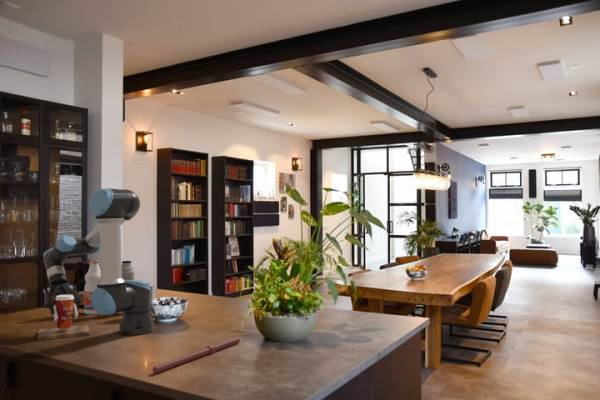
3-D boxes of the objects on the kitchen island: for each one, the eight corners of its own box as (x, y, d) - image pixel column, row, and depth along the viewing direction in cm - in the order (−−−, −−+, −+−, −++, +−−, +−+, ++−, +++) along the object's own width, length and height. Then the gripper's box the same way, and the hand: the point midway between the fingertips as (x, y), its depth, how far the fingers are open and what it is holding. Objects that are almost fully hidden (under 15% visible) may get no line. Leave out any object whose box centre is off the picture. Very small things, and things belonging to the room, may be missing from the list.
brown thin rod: (235, 343, 200) (235, 335, 200) (241, 344, 199) (241, 336, 199) (151, 374, 162) (151, 364, 162) (157, 375, 160) (157, 366, 160)
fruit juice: (107, 311, 260) (107, 260, 261) (94, 315, 251) (94, 261, 252) (93, 310, 263) (94, 259, 264) (80, 313, 254) (80, 261, 255)
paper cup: (65, 329, 208) (66, 297, 209) (50, 328, 210) (51, 296, 210) (77, 325, 216) (78, 294, 216) (62, 324, 218) (63, 293, 218)
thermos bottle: (125, 315, 251) (126, 262, 252) (114, 313, 255) (115, 261, 255) (137, 312, 258) (137, 260, 259) (126, 311, 262) (127, 259, 262)
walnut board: (88, 328, 224) (88, 324, 224) (89, 335, 211) (89, 331, 211) (39, 332, 215) (39, 329, 215) (37, 340, 202) (37, 336, 202)
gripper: (78, 280, 232) (88, 319, 219) (31, 284, 218) (39, 326, 206) (82, 270, 228) (92, 310, 215) (34, 274, 214) (42, 316, 202)
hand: (66, 318), depth 211 cm, fingers closed on paper cup, 8 cm apart
